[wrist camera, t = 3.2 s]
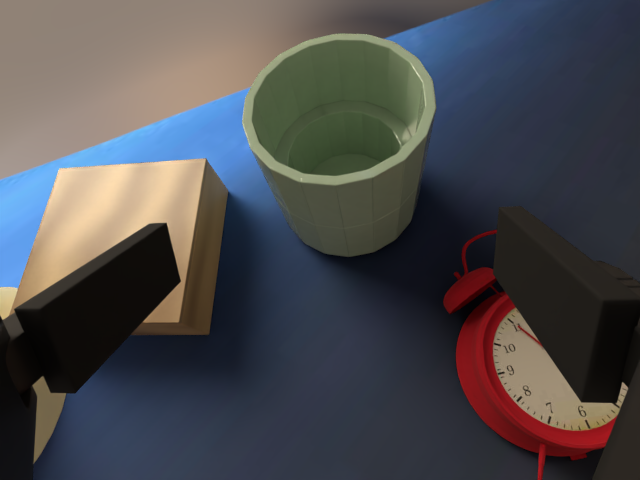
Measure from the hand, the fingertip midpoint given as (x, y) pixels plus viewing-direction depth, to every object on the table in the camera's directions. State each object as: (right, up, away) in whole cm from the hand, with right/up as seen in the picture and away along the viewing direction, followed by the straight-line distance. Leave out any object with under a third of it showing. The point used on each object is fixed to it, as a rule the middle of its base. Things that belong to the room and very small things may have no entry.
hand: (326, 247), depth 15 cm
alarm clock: (+14, -7, +11) cm, 19 cm away
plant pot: (+2, +4, +17) cm, 18 cm away
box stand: (-15, -1, +18) cm, 23 cm away
